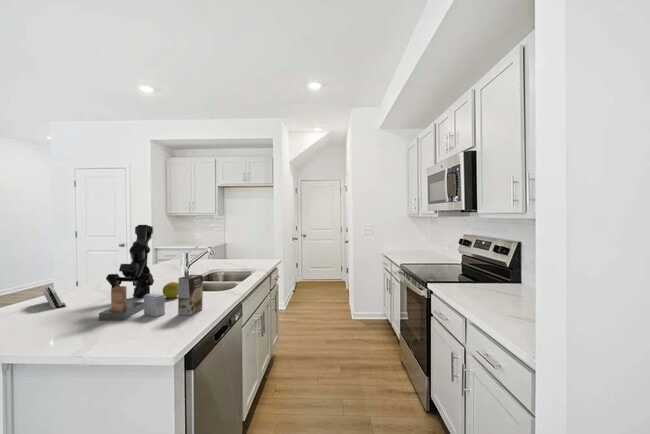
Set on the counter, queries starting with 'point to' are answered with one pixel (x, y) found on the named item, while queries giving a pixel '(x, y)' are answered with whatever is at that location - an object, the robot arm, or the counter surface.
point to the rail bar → (122, 312)
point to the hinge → (53, 297)
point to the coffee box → (190, 294)
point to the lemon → (171, 290)
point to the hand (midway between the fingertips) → (122, 296)
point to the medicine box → (154, 304)
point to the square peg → (118, 298)
